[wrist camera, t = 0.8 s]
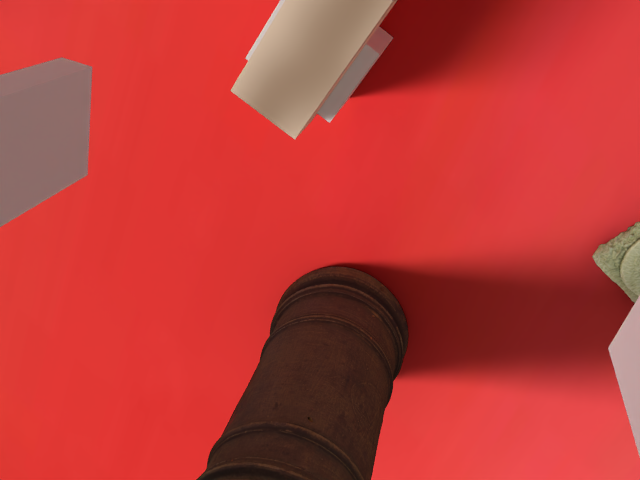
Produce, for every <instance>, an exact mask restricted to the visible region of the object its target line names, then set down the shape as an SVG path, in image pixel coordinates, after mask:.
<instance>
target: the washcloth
mask: <svg viewBox="0 0 640 480" xmlns="http://www.w3.org/2000/svg"><path fill="white" fill-rule="evenodd" d="M592 257H593V259H594V261H595V263H596V264H597V266H598V267H600V268H601V270H602V271H603V272H604V273H605V274H606V275H607V276H608V277H609V278H610V279H611V280H612V281H614V282H615V283H616V284H617V285H619V286H620V288H621V289H622V290H623V291H624V292H625V293H626V294H627V295H628V297H629V298H630V299H631V301H633V302H634V303H635V302H636V301H637V299H638V297H639V296H640V222H637V223H635V225H634V226H631V227H628V229H627V231H625V232H621V233H620V234H619V235H618V236H617V237H615V238H614V239H612V240H610V241H609V242H607V243H606V244H600V245H599V247H598V248H597V250H596V251H595V253H594V254H593V256H592Z"/></svg>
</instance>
